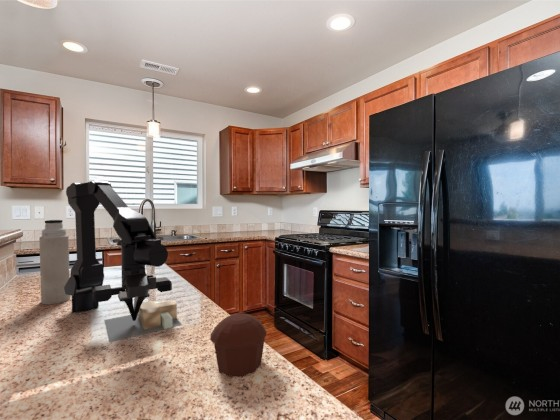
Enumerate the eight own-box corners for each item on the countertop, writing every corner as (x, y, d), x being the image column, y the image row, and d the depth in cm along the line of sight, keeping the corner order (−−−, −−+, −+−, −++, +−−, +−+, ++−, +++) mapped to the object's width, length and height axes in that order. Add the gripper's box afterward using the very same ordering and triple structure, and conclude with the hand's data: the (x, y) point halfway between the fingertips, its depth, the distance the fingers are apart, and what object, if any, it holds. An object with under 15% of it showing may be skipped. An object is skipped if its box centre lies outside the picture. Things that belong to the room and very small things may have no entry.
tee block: (144, 329, 76) (144, 314, 76) (138, 316, 85) (138, 303, 84) (179, 321, 81) (179, 307, 81) (170, 310, 90) (170, 297, 89)
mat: (109, 345, 69) (109, 342, 69) (104, 322, 83) (104, 320, 83) (182, 327, 79) (182, 324, 79) (167, 309, 92) (167, 307, 92)
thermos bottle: (59, 295, 107) (57, 219, 106) (75, 298, 104) (73, 219, 104) (35, 302, 99) (33, 220, 99) (51, 305, 97) (49, 220, 96)
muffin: (241, 345, 69) (241, 303, 69) (277, 361, 62) (277, 314, 62) (198, 368, 60) (198, 319, 60) (235, 389, 53) (235, 334, 53)
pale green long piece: (164, 329, 76) (164, 319, 76) (152, 310, 90) (151, 302, 90) (172, 327, 78) (172, 317, 77) (158, 309, 91) (158, 301, 91)
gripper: (93, 273, 67) (94, 340, 68) (176, 263, 78) (177, 322, 78) (92, 265, 76) (92, 324, 77) (166, 257, 87) (167, 309, 87)
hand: (134, 320), depth 80 cm, fingers closed
